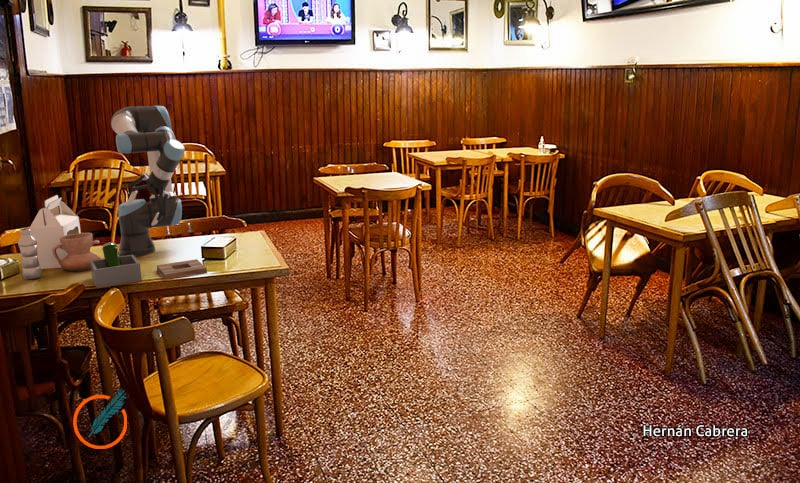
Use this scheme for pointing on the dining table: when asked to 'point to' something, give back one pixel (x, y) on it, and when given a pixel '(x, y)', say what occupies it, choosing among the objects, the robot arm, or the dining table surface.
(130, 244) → the robot arm
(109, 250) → the beer can
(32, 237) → the plastic bottle
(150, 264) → the dining table surface
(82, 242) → the ceramic jug
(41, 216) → the gable box
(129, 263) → the bin
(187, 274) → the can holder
